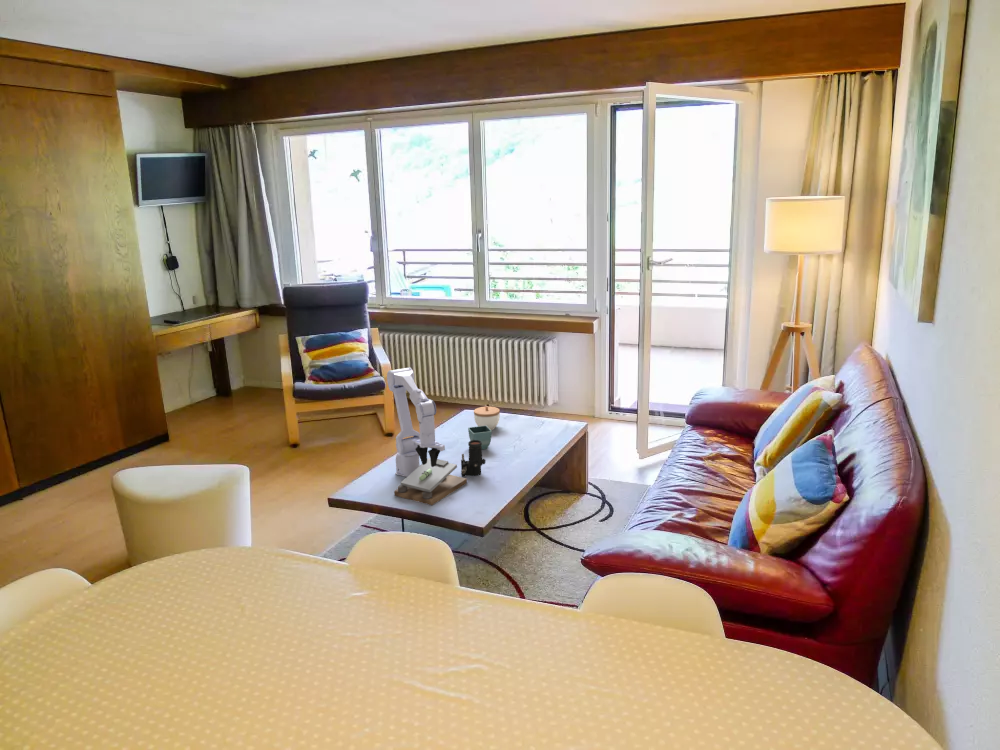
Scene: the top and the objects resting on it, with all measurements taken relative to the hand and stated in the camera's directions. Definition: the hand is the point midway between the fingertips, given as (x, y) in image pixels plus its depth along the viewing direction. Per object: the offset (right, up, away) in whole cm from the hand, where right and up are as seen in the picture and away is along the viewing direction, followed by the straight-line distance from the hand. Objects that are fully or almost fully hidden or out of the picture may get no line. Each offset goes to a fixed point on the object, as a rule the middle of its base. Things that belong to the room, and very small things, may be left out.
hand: (429, 465), depth 274 cm
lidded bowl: (+21, +9, +71) cm, 75 cm away
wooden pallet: (+1, -10, +3) cm, 10 cm away
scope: (+17, -6, +17) cm, 24 cm away
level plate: (0, -4, +1) cm, 5 cm away
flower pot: (+19, +2, +45) cm, 49 cm away
